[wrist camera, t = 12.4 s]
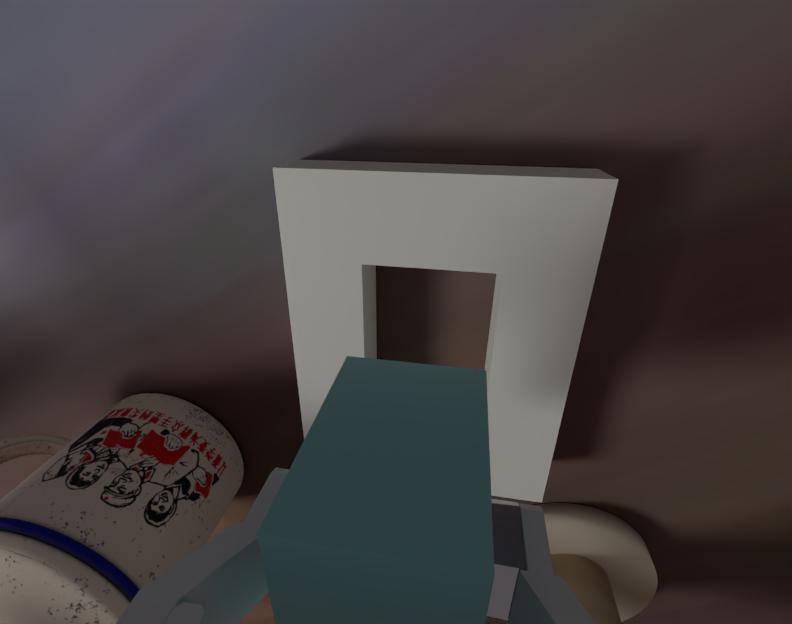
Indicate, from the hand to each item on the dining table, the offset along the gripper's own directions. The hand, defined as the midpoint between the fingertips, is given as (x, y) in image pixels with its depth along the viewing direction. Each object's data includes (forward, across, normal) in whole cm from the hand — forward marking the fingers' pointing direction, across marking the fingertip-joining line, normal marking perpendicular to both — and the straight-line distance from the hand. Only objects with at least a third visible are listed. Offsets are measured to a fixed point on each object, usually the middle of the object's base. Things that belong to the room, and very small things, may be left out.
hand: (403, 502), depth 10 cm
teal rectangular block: (+2, 0, 0) cm, 2 cm away
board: (+9, 0, 0) cm, 9 cm away
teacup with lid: (+9, -16, -9) cm, 21 cm away
